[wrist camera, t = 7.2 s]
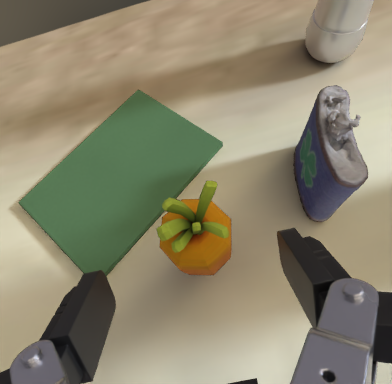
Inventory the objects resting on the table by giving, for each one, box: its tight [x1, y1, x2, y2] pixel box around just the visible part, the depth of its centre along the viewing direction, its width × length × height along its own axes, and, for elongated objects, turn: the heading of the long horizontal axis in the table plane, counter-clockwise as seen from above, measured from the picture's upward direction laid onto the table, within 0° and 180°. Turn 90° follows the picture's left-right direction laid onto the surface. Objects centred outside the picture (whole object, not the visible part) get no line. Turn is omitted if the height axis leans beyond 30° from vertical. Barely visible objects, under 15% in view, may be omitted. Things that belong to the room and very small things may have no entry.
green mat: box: [19, 90, 223, 275], centre depth 32 cm, size 14×20×1 cm
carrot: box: [157, 181, 231, 275], centre depth 20 cm, size 5×5×15 cm
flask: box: [294, 85, 368, 222], centre depth 24 cm, size 9×3×11 cm, turn 0°
